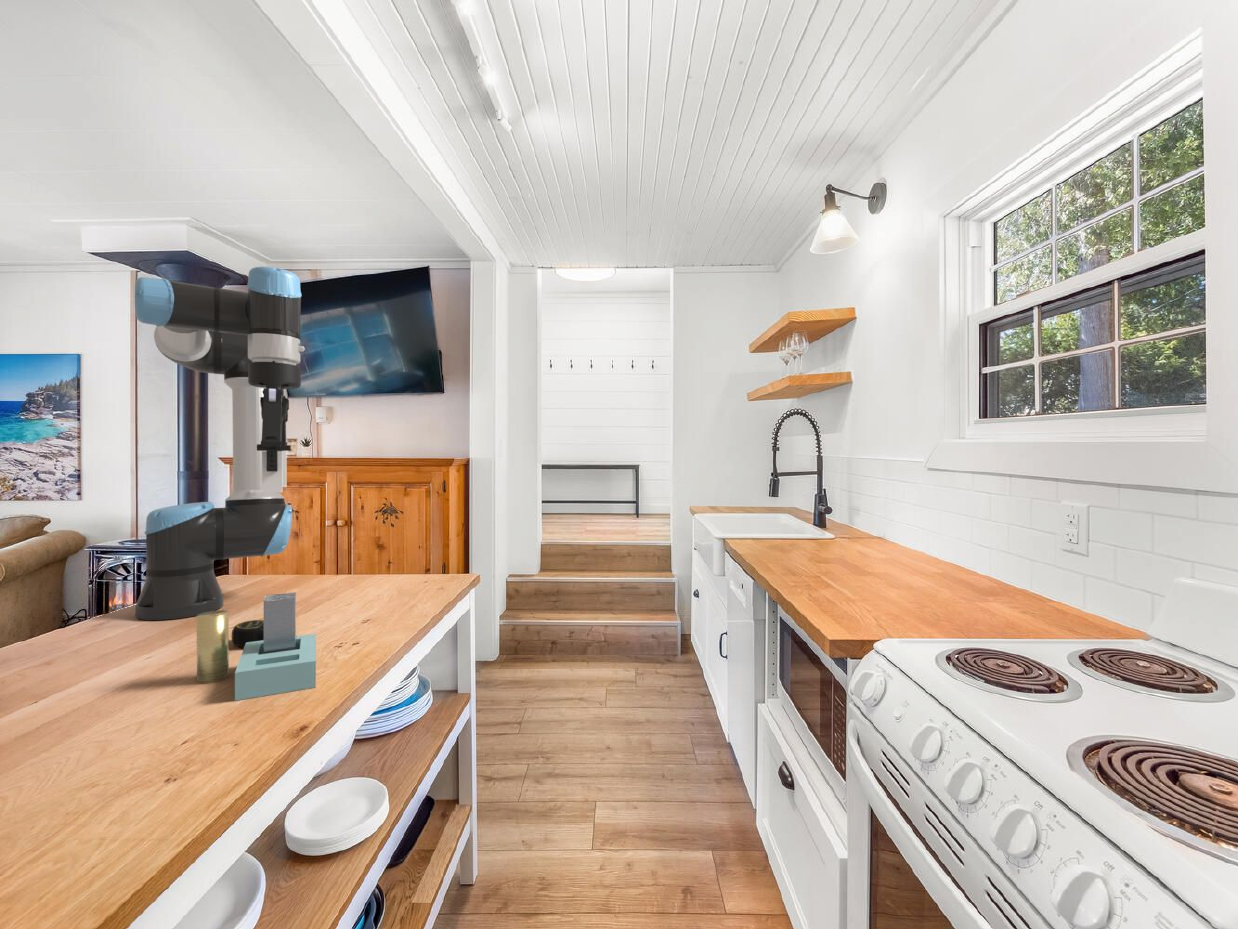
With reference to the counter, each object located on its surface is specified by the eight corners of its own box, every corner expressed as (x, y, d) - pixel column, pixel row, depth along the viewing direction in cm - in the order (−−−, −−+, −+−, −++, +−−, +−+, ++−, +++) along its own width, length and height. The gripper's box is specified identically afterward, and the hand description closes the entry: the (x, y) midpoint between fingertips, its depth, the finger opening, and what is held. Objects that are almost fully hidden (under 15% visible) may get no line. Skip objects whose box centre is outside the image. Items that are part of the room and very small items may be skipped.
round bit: (199, 675, 87) (199, 612, 87) (230, 671, 89) (230, 609, 89) (194, 685, 83) (194, 619, 83) (226, 680, 85) (226, 615, 85)
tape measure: (270, 648, 100) (270, 628, 100) (225, 652, 98) (225, 631, 98) (280, 636, 106) (280, 617, 106) (238, 639, 104) (239, 619, 104)
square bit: (265, 668, 90) (265, 595, 90) (295, 664, 92) (295, 592, 92) (263, 678, 86) (263, 601, 86) (294, 673, 88) (294, 598, 88)
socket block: (246, 666, 91) (246, 642, 91) (315, 656, 95) (315, 633, 95) (234, 700, 78) (234, 672, 78) (315, 687, 83) (315, 660, 83)
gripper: (298, 354, 84) (298, 494, 85) (302, 374, 106) (302, 485, 107) (238, 349, 81) (239, 495, 81) (255, 371, 102) (256, 485, 103)
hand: (275, 490), depth 94 cm, fingers open, 13 cm apart
